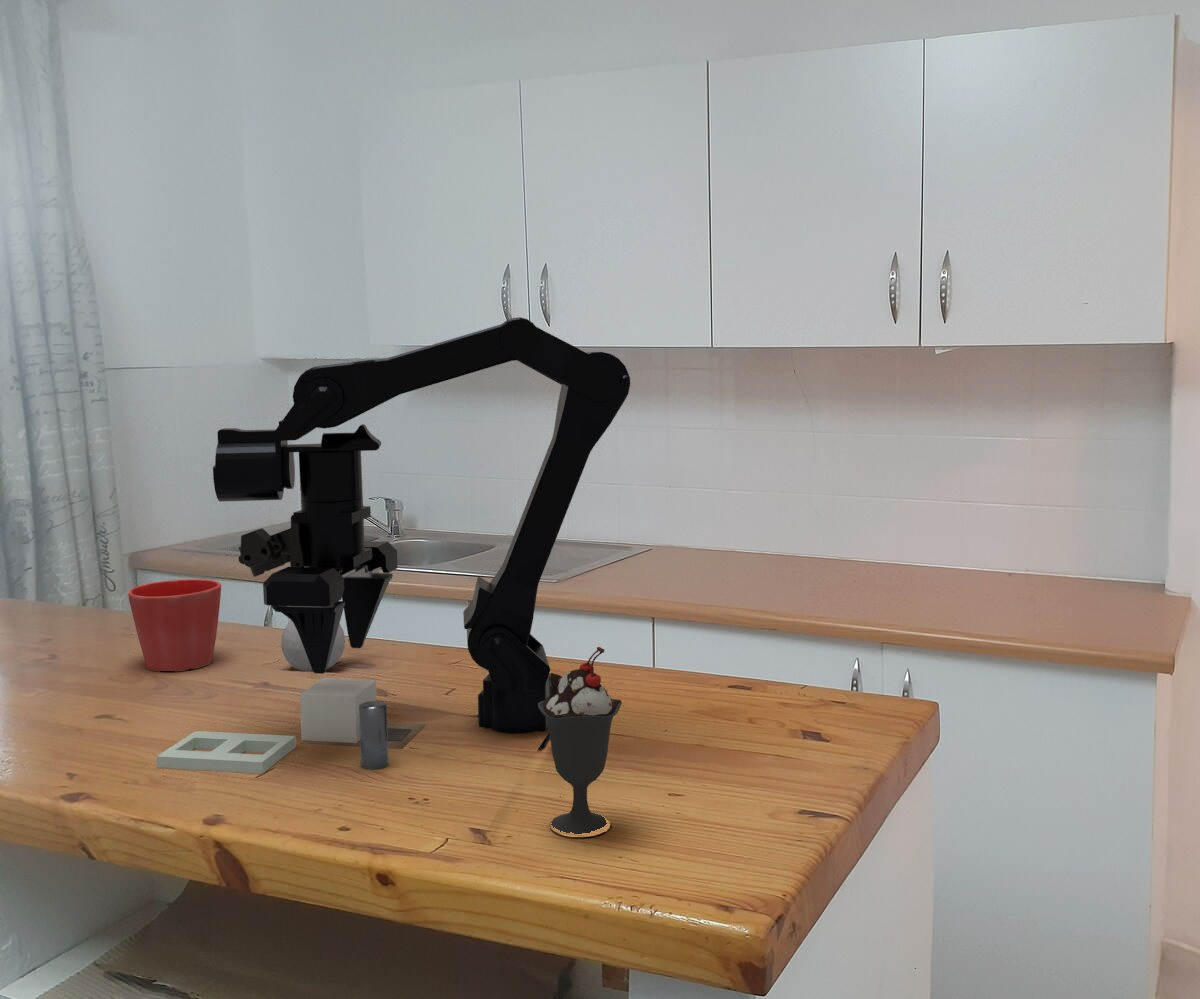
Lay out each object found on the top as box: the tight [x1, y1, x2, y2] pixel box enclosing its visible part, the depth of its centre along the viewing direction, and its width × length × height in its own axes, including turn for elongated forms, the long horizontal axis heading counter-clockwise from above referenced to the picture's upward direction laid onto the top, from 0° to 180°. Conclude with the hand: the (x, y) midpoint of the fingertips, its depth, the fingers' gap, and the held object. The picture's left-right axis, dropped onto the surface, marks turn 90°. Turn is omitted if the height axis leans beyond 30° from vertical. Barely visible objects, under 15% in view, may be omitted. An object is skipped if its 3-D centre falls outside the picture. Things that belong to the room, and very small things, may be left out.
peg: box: [359, 700, 389, 771], centre depth 104 cm, size 2×2×7 cm
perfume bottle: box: [280, 619, 346, 673], centre depth 141 cm, size 8×10×12 cm
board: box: [300, 722, 427, 750], centre depth 112 cm, size 10×7×4 cm
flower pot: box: [127, 578, 222, 672], centre depth 143 cm, size 11×11×10 cm
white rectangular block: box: [299, 677, 377, 743], centre depth 112 cm, size 6×6×4 cm
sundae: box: [538, 646, 623, 834], centre depth 93 cm, size 7×7×15 cm
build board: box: [155, 730, 297, 775], centre depth 106 cm, size 10×7×2 cm
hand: (338, 659), depth 112 cm, fingers open, 9 cm apart
